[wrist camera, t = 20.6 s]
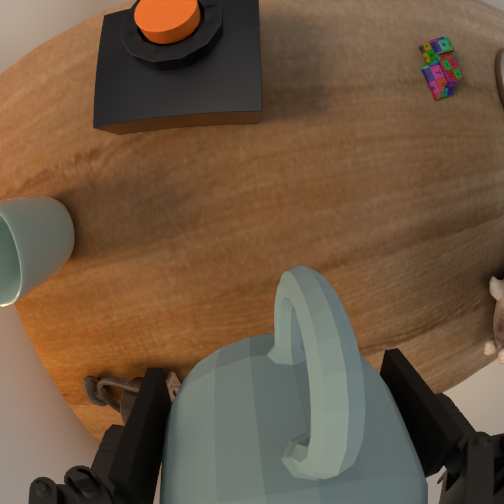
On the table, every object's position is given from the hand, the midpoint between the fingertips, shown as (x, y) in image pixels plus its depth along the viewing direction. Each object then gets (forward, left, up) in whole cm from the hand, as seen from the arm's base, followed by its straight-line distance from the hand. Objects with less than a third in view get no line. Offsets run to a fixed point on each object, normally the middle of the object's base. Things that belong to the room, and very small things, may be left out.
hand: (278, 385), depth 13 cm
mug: (0, 0, -1) cm, 1 cm away
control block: (+6, -19, -14) cm, 24 cm away
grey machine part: (+14, +12, -14) cm, 23 cm away
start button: (+6, -21, -7) cm, 23 cm away
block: (-19, -22, -14) cm, 32 cm away
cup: (+20, -6, -14) cm, 25 cm away
